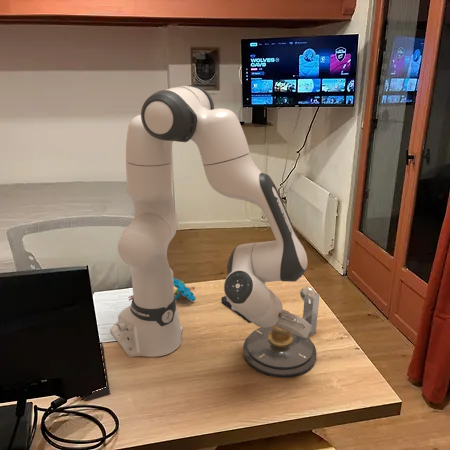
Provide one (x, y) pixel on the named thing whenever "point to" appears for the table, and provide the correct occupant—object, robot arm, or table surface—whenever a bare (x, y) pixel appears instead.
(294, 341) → the turntable platter
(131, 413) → the table surface
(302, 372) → the turntable base
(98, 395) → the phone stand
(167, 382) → the table surface
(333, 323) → the table surface
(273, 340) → the brass hub
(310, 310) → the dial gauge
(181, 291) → the gear
